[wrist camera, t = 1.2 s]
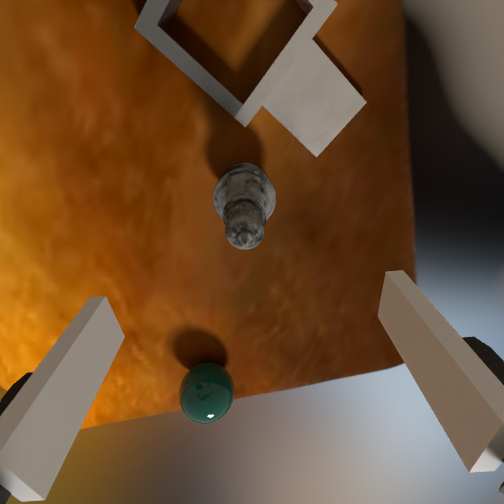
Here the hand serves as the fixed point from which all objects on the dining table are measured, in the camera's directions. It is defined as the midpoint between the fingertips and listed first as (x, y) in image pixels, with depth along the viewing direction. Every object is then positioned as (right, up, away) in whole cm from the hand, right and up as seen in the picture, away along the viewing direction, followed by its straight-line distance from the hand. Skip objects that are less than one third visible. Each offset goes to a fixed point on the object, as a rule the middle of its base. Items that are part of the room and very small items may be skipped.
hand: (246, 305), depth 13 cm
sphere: (-6, -16, +30) cm, 35 cm away
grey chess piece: (-1, +9, +16) cm, 18 cm away
